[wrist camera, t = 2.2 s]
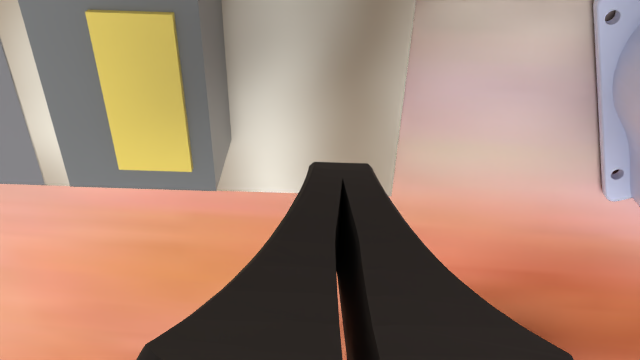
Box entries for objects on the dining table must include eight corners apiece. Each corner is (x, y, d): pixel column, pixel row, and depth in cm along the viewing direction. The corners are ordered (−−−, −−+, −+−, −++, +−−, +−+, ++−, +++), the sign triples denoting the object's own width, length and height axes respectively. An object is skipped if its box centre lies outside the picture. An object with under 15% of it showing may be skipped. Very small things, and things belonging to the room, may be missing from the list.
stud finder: (217, -49, 18) (194, -18, 14) (231, 139, 21) (215, 194, 18) (62, -54, 18) (6, -25, 14) (105, 135, 21) (67, 190, 18)
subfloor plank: (426, -134, 17) (432, -130, 16) (388, 180, 24) (391, 195, 23) (-337, -160, 17) (-378, -158, 16) (-158, 162, 24) (-179, 178, 23)
